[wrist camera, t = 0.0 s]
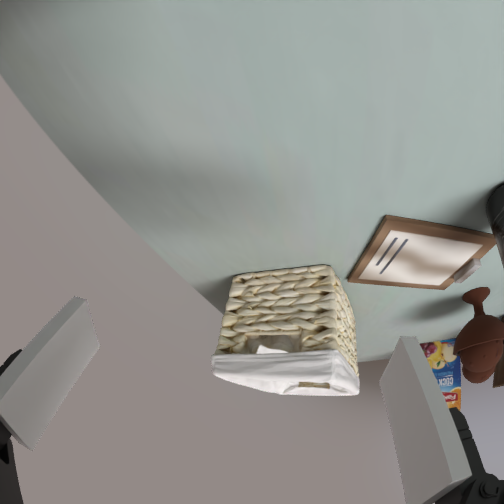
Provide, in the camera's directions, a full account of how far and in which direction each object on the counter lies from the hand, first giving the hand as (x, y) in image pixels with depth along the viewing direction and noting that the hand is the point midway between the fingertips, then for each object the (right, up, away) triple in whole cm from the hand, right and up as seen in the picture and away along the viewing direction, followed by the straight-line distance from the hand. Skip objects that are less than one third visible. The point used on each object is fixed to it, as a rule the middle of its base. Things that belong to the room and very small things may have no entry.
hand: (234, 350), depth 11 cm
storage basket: (+9, -3, +35) cm, 36 cm away
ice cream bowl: (+38, -3, +27) cm, 47 cm away
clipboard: (+21, +3, +20) cm, 30 cm away
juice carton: (+52, -21, +56) cm, 79 cm away
